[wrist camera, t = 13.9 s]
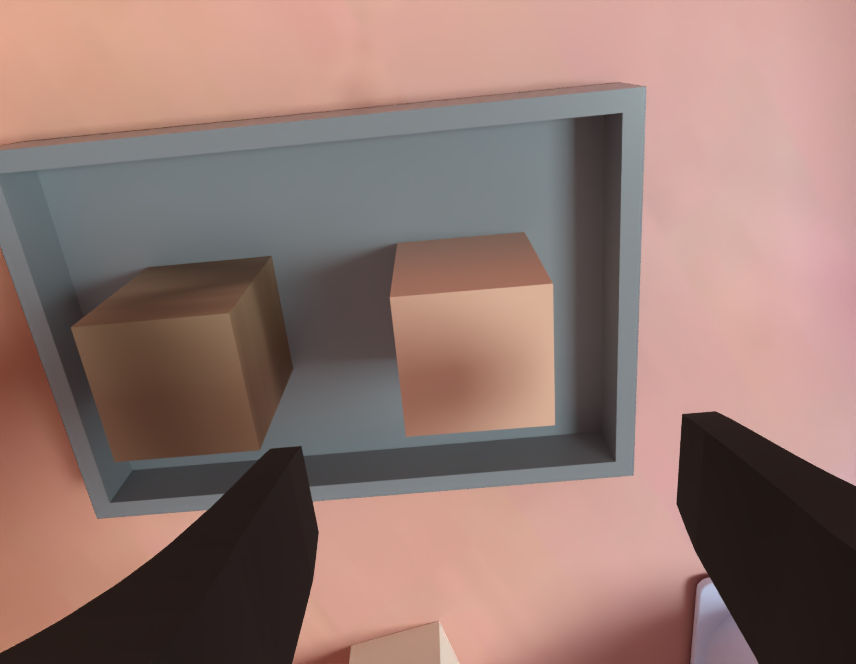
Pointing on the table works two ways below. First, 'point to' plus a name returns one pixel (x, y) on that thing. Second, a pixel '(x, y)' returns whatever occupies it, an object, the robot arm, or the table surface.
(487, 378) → the peach block
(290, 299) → the tray
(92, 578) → the table surface
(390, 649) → the cream block
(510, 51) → the table surface
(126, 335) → the walnut block
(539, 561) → the table surface
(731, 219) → the table surface
